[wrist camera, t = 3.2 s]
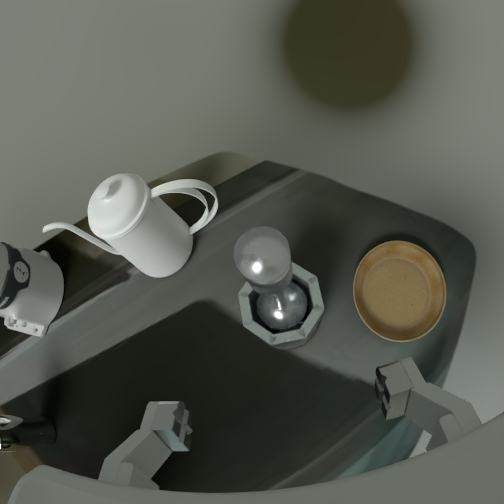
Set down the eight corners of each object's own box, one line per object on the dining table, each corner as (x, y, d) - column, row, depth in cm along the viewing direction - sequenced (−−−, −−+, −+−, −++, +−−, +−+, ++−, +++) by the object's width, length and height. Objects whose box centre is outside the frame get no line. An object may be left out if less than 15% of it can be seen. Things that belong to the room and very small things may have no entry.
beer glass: (42, 445, 38) (-12, 450, 25) (33, 414, 41) (-21, 414, 27) (61, 446, 38) (5, 455, 24) (52, 413, 41) (-6, 415, 27)
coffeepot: (102, 241, 52) (36, 193, 34) (226, 199, 50) (189, 122, 32) (105, 296, 47) (27, 261, 30) (240, 257, 46) (201, 193, 28)
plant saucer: (360, 237, 44) (363, 230, 41) (443, 258, 40) (450, 252, 38) (339, 331, 40) (342, 329, 37) (430, 350, 36) (438, 350, 33)
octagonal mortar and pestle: (260, 355, 40) (244, 353, 29) (247, 281, 44) (228, 253, 33) (325, 342, 39) (334, 335, 28) (308, 267, 43) (309, 235, 32)
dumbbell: (262, 334, 32) (221, 308, 16) (254, 287, 34) (210, 221, 18) (311, 324, 31) (319, 287, 16) (301, 277, 33) (297, 201, 18)
